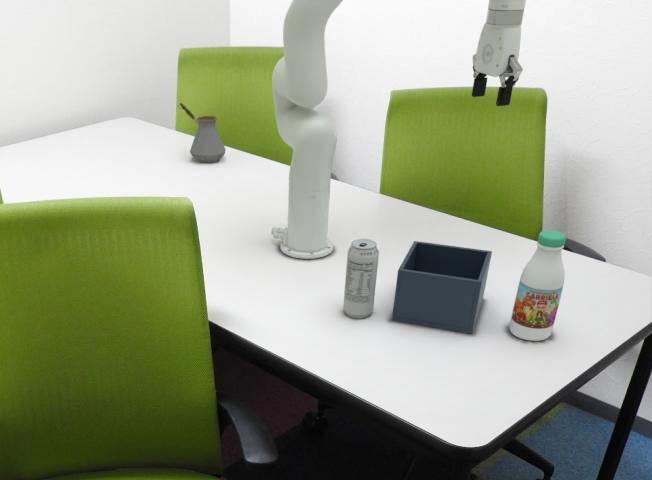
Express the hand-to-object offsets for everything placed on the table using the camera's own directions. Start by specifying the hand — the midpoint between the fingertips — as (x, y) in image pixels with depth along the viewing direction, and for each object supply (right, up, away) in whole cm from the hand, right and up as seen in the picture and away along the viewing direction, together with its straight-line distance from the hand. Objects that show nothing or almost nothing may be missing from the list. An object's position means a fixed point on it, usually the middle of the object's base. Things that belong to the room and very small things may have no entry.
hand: (490, 100), depth 175 cm
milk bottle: (-2, -56, -28) cm, 63 cm away
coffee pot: (-69, +11, +74) cm, 102 cm away
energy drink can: (-34, -52, -20) cm, 65 cm away
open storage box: (-18, -51, -20) cm, 57 cm away
